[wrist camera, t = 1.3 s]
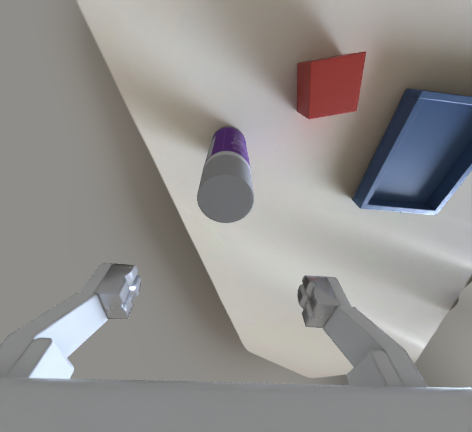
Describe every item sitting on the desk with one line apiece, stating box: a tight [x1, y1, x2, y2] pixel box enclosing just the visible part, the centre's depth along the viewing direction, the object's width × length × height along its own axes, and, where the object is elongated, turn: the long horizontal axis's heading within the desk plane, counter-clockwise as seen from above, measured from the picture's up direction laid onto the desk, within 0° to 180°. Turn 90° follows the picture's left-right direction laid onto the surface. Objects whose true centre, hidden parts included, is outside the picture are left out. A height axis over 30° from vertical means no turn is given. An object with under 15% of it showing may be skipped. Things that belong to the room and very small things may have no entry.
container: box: [197, 126, 254, 223], centre depth 23 cm, size 5×5×15 cm
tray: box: [352, 88, 472, 215], centre depth 29 cm, size 16×13×3 cm
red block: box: [297, 52, 366, 119], centre depth 23 cm, size 5×5×5 cm
